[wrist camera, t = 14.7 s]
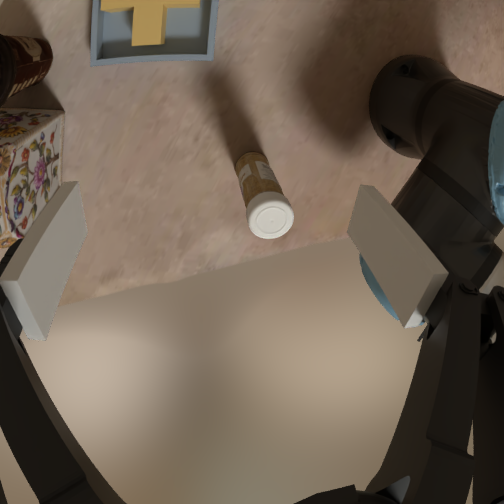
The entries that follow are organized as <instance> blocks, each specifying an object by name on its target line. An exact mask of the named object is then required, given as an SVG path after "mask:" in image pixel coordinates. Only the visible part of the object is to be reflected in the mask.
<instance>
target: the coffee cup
mask: <svg viewBox="0 0 504 504" xmlns="http://www.w3.org/2000/svg"><path fill="white" fill-rule="evenodd" d="M52 61H53V54H52V50H51V47H50V45H49V44H48V43H47V42H45V41H43V40H41V39H38V38H29V37H22V36H3V35H1V34H0V107H2V105H4V104H5V102H6V101H7V99H8V98H9V97H11V96H13V95H15V94H16V93H18V92H20V91H21V90H22V89H24V88H28V87H30V86H33V85H36V84H37V83H39V82H40V81H41V80H42V79H43V78H44V77H45V76H46V74H47V73H48V71H49V70H50V67H51V65H52Z"/></svg>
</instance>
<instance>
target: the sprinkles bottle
mask: <svg viewBox="0 0 504 504" xmlns="http://www.w3.org/2000/svg"><path fill="white" fill-rule="evenodd" d="M235 171H236V175H237V177H238V179H239V185H240V188H241V192H242V196H243V200H244V202H245V206H246V218H247V222H248V225H249V228H250V230H251V231H252V232H253V233H254V234H255V235H257V236H258V237H261V238H265V239H272V238H277V237H279V236H281V235H283V234H285V233H286V232H287V231H288V230H289V229H290V227H291V226H292V223H293V220H294V213H293V210H292V207H291V205H290V203H289V201H288V199H287V198H286V197H285V196H284V195H283V192H282V189H281V187H280V185H279V183H278V181H277V179H276V177H275V175H274V173H273V171H272V169H271V167H270V165H269V162H268V160H267V159H266V157H265V156H263V155H262V154H260V153H256V152H250V153H246V154H244V155H243V156H241V158H240V159H239V160H238V161H237V163H236V168H235Z"/></svg>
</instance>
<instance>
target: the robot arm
mask: <svg viewBox="0 0 504 504" xmlns="http://www.w3.org/2000/svg"><path fill="white" fill-rule="evenodd" d="M369 108H370V117H371V121H372V124H373V127H374V129H375V131H376V133H377V135H378V136H379V138H380V139H381V140H382V141H383V142H384V143H385V144H386V145H387V146H389V147H390V148H391V149H393V150H394V151H396V152H397V153H399V154H401V155H403V156H406V157H410V158H415V159H421V162H420V163H419V165H418V166H417V167H416V169H415V170H414V172H413V173H412V175H411V176H410V178H409V179H408V181H407V182H406V184H405V185H404V186H403V188H402V189H401V191H400V192H399V193H398V195H397V196H396V198H395V199H394V200H393V202H392V203H391V204H390V203H389V202H388V201H387V200H386V199H385V198H384V197H383V195H382V194H381V193H380V192H379V191H378V190H377V189H376V188H375V187H374V186H368V185H360V187H359V191H358V195H357V199H356V202H355V206H354V209H353V213H352V217H351V220H350V224H349V227H348V230H347V233H348V234H349V236H350V237H351V239H352V240H353V242H354V244H355V245H356V247H357V249H358V250H359V252H360V264H361V267H362V272H363V275H364V277H365V280H366V282H367V284H368V285H369V287H370V289H371V290H372V292H373V293H374V295H375V297H376V298H377V299H378V301H379V302H380V303H381V304H382V306H383V307H384V308H385V309H386V310H387V311H388V312H389V313H390V314H391V315H392V316H393V317H394V318H395V319H397V320H400V322H401V324H402V326H403V327H404V328H410V327H417V326H419V325H423V323H425V322H426V323H427V326H426V328H425V329H424V331H423V332H422V334H421V336H420V337H419V339H418V340H417V341H420V340H421V339H422V338H423V341H422V345H421V349H420V353H419V357H418V361H417V364H416V368H415V372H414V375H413V379H412V382H411V385H410V389H409V392H408V395H407V398H406V401H405V405H404V408H403V411H402V413H401V417H400V419H399V422H398V425H397V428H396V431H395V433H394V436H393V439H392V441H391V444H390V446H389V449H388V452H387V454H386V456H385V459H384V461H383V463H382V466H381V468H380V470H379V471H378V473H377V474H376V476H375V477H374V478H373V479H372V480H371V482H370V483H369V485H368V486H367V488H366V490H365V491H358V490H356V489H355V485H354V484H353V485H350V486H346V487H342V488H338V489H334V490H330V491H325V492H321V493H317V494H315V495H312V496H310V497H308V498H306V499H303V500H301V501H299V502H297V503H294V504H465V503H466V500H467V496H468V493H469V489H470V485H471V481H472V477H473V504H504V252H503V251H502V250H501V249H500V248H499V247H498V246H497V245H496V244H495V243H494V239H495V238H496V237H497V235H498V234H499V233H500V231H501V230H502V229H503V227H504V96H502V95H499V94H497V93H494V92H492V91H489V90H487V89H484V88H481V87H479V86H476V85H473V84H470V83H467V82H464V81H462V80H460V79H459V78H457V77H456V76H455V75H454V74H453V73H452V72H451V71H449V70H448V69H447V68H446V67H445V66H443V65H442V64H441V63H439V62H437V61H435V60H433V59H431V58H427V57H423V56H419V55H405V56H401V57H398V58H396V59H394V60H392V61H391V62H390V63H388V64H387V65H386V66H385V67H384V68H383V69H382V70H381V72H380V73H379V74H378V76H377V78H376V80H375V82H374V84H373V87H372V90H371V94H370V103H369ZM87 233H88V230H87V225H86V220H85V215H84V210H83V204H82V199H81V193H80V187H79V181H73V182H64V183H63V184H62V185H61V187H60V188H59V189H58V191H57V192H56V193H55V195H54V196H53V197H52V199H51V200H50V201H49V203H48V204H47V205H46V207H45V208H44V210H43V211H42V212H41V214H40V215H39V217H38V218H37V219H36V221H35V222H34V224H33V225H32V227H31V228H30V230H29V231H28V233H27V234H26V236H25V237H24V238H20V239H18V240H17V241H16V242H15V243H13V244H12V245H11V246H10V247H9V249H8V250H7V252H6V254H5V257H3V258H2V260H1V262H0V427H1V429H2V431H3V433H4V436H5V438H6V440H7V442H8V444H9V446H10V449H11V451H12V453H13V455H14V457H15V459H16V461H17V463H18V464H19V466H20V468H21V470H22V472H23V474H24V475H25V477H26V479H27V481H28V483H29V484H30V486H31V488H32V490H33V491H34V492H35V494H36V496H37V498H38V500H39V503H40V504H126V503H125V502H124V501H123V500H122V499H121V498H120V497H119V496H118V494H117V493H116V492H115V491H114V490H113V489H112V487H111V486H110V485H109V484H108V482H107V481H106V480H105V479H104V478H103V476H102V475H101V473H100V472H99V471H98V470H97V468H96V467H95V466H94V464H93V463H92V462H91V460H90V459H89V457H88V456H87V455H86V453H85V452H84V450H83V449H82V447H81V446H80V445H79V443H78V442H77V440H76V439H75V437H74V436H73V434H72V433H71V431H70V430H69V428H68V426H67V425H66V423H65V422H64V420H63V418H62V417H61V415H60V414H59V412H58V410H57V408H56V407H55V405H54V403H53V402H52V400H51V398H50V396H49V394H48V393H47V391H46V389H45V387H44V385H43V384H42V382H41V380H40V378H39V376H38V374H37V372H36V370H35V368H34V366H33V364H32V362H31V360H30V358H29V356H28V353H27V351H26V349H25V347H24V344H23V342H22V341H21V339H20V337H19V336H20V334H21V331H22V328H23V330H24V331H25V333H26V335H27V337H28V339H33V340H44V341H46V339H47V336H48V333H49V330H50V327H51V324H52V321H53V318H54V315H55V312H56V309H57V307H58V304H59V301H60V298H61V296H62V293H63V290H64V288H65V285H66V283H67V280H68V278H69V275H70V273H71V270H72V268H73V265H74V263H75V261H76V258H77V256H78V253H79V251H80V249H81V247H82V244H83V242H84V240H85V238H86V236H87ZM495 236H496V237H495ZM472 420H473V440H474V441H473V444H474V456H472V455H469V454H468V453H467V446H468V442H469V436H470V431H471V425H472ZM0 504H7V500H6V497H5V494H4V491H3V487H2V484H1V481H0Z"/></svg>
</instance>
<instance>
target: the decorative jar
mask: <svg viewBox="0 0 504 504" xmlns="http://www.w3.org/2000/svg"><path fill="white" fill-rule="evenodd" d="M64 120H65V112H64V111H60V110H46V109H29V108H0V249H3V248H7V247H10V246H11V245H12V244H13V243H15V242H16V241H17V240H18V239H20V238H24V237H25V236H26V234H27V233H28V231H29V230H30V228H31V227H32V225H33V224H34V222H35V221H36V219H37V218H38V217H39V215H40V214H41V212H42V211H43V210H44V208H45V207H46V205H47V204H48V203H49V201H50V200H51V199H52V197H53V196H54V195H55V193H56V192H57V191H58V189H59V188H60V187H61V185H62V151H63V137H64V136H63V135H64Z"/></svg>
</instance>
